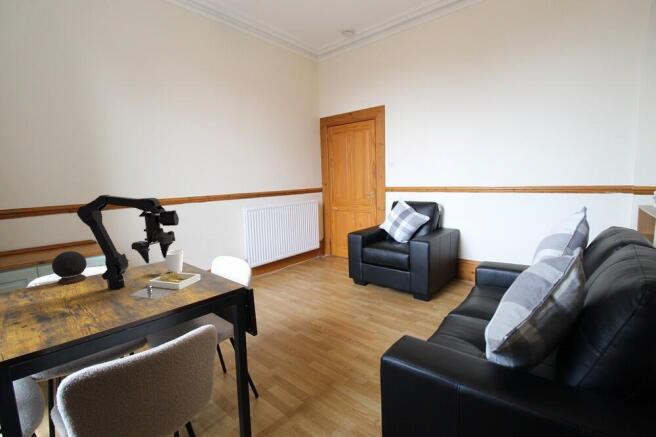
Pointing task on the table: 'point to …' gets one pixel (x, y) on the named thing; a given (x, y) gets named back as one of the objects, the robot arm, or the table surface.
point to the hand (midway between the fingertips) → (156, 260)
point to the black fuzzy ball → (69, 267)
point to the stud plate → (152, 293)
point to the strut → (170, 277)
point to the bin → (171, 285)
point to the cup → (174, 260)
